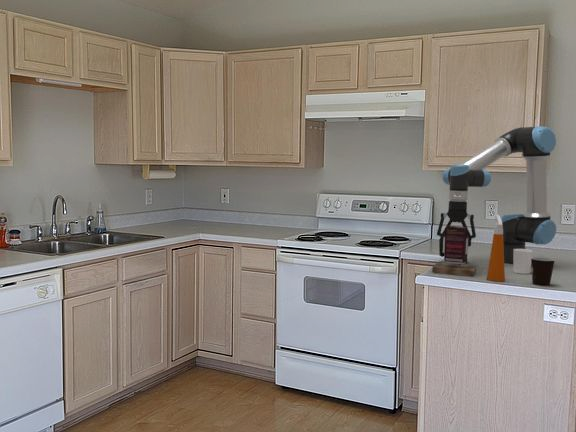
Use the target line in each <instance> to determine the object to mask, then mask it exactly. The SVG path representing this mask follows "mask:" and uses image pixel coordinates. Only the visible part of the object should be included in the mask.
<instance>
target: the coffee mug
mask: <svg viewBox="0 0 576 432" xmlns="http://www.w3.org/2000/svg"><path fill="white" fill-rule="evenodd" d="M554 265H555V259H554V258H549V257H540V256H539V257H534V256H532V258H531V278H532V279H531V280H532V285H535V286H536V285H537V286H542V287H543V286H545V287H546V286H548V287H549V286H550V285H551V282H552V281H551V280H552V275H553V270H554Z"/></svg>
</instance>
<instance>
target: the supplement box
mask: <svg viewBox="0 0 576 432" xmlns="http://www.w3.org/2000/svg"><path fill="white" fill-rule="evenodd" d="M445 227H446V228H445ZM445 227H444V229H445V252H444V256H443V258H444V259H443V264H454V265H458V264H461V265H464V264H465V265H466V264H467V263H466V254H465V253H466V239H467V234H466V227H463V226H458V225H457V226H456V225H450V226H449V227H448V226H447V225H446V226H445Z"/></svg>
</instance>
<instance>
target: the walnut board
mask: <svg viewBox="0 0 576 432" xmlns="http://www.w3.org/2000/svg"><path fill="white" fill-rule="evenodd" d="M432 272H435V273H434V274H439V273H442V275H450V276H461V277H471V278H472V277H473V278H474V277H475V275H476V272H477V266H475V265H467V264H465V265H462V264H461V265H458V264H451V263H444V262H441V263H440V262H439V263H438V262H436V263H435V264H433V266H432V271H431V273H432Z"/></svg>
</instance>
